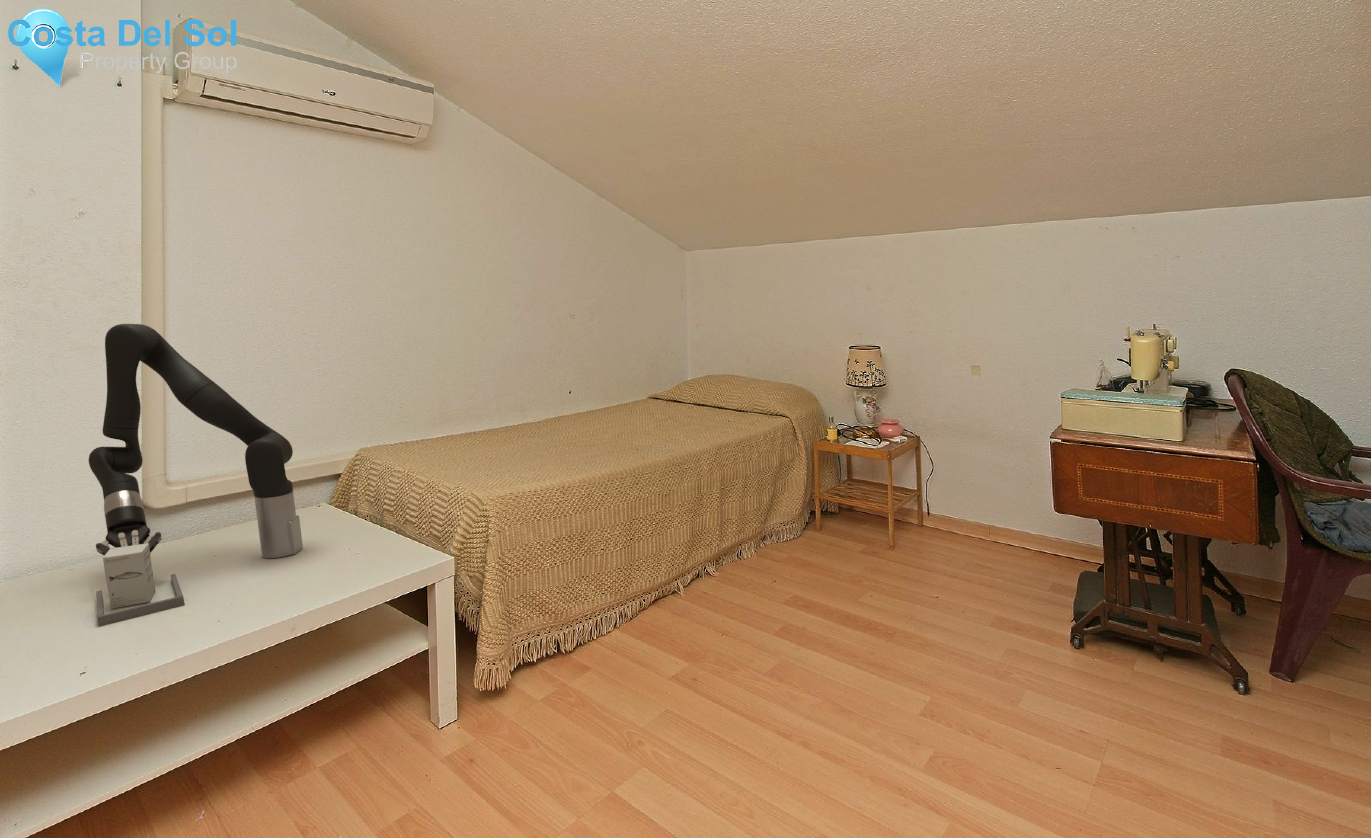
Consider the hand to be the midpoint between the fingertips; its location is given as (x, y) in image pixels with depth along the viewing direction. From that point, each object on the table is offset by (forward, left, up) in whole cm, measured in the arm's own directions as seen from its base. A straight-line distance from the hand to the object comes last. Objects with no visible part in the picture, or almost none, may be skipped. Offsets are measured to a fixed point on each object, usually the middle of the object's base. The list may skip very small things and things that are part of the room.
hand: (134, 573), depth 158 cm
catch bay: (-3, +6, -5) cm, 9 cm away
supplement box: (-1, +4, -5) cm, 7 cm away
